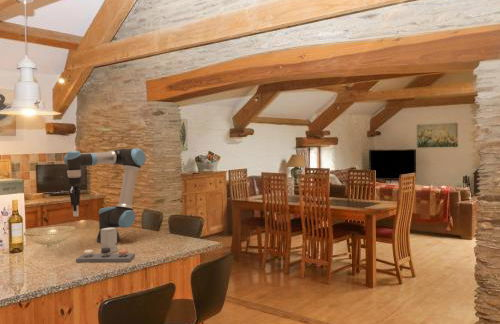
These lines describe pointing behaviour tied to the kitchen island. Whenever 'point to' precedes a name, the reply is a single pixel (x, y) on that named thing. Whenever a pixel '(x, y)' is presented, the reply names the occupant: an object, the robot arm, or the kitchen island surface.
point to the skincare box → (109, 239)
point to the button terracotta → (123, 252)
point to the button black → (105, 251)
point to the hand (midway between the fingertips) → (75, 216)
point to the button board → (105, 258)
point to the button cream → (88, 253)
